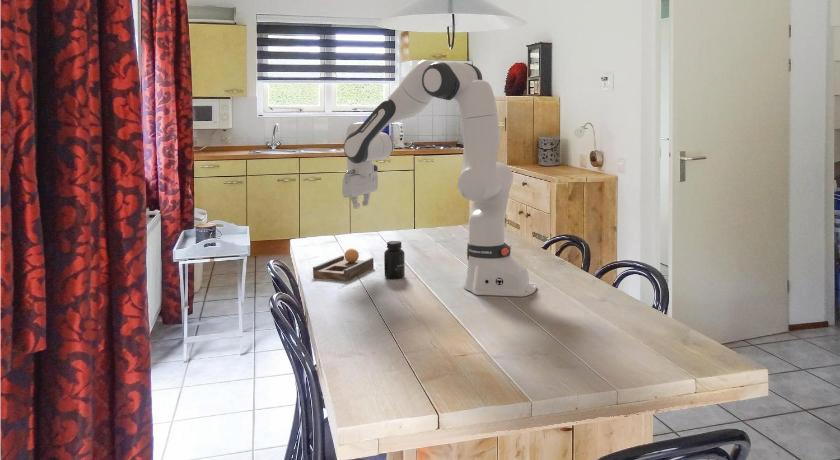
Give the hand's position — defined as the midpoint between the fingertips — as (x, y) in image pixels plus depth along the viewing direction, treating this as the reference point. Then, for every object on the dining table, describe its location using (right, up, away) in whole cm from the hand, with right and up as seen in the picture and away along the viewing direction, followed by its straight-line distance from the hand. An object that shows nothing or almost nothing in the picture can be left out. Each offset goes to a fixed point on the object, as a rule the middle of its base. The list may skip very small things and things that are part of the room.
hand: (361, 207), depth 241 cm
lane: (-5, -23, -8) cm, 25 cm away
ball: (-3, -17, -4) cm, 18 cm away
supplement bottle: (+13, -24, -15) cm, 31 cm away
